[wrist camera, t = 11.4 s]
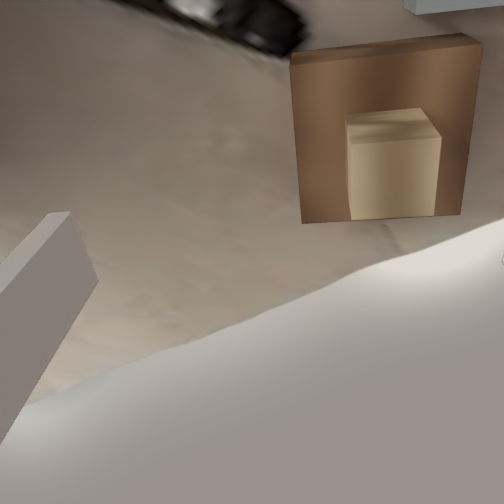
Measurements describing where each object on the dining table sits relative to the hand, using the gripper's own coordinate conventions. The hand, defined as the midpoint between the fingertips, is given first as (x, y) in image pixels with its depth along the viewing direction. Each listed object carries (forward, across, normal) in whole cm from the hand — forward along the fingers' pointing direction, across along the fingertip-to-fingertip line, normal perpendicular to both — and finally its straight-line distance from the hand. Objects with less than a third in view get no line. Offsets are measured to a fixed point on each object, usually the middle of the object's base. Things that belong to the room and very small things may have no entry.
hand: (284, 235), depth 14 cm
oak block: (+20, +6, -5) cm, 21 cm away
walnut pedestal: (+25, +6, -5) cm, 26 cm away
